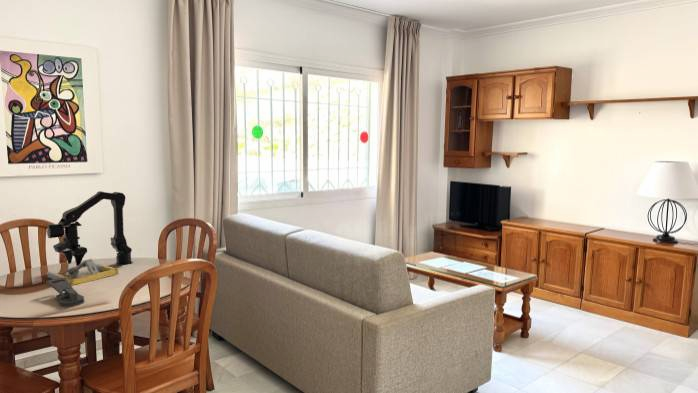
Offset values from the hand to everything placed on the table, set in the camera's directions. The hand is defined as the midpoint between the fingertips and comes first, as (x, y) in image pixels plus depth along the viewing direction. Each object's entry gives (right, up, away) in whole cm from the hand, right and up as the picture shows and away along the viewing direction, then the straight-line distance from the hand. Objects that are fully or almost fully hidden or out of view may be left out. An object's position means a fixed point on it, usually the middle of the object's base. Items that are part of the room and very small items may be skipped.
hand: (73, 265), depth 252 cm
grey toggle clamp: (+19, -9, -41) cm, 46 cm away
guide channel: (+7, -5, -5) cm, 10 cm away
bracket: (+7, -6, -7) cm, 11 cm away
